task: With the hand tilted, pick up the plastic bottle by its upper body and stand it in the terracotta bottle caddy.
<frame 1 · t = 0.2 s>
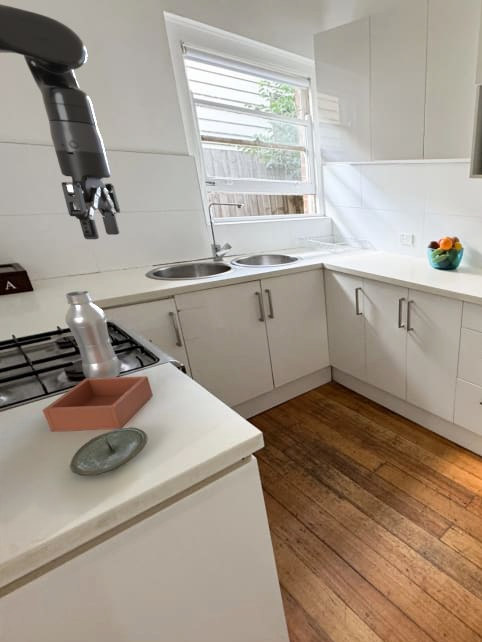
hand: (103, 236, 79), 31 cm above the worktop, tool pointing down, fingers open, 8 cm apart
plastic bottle: (106, 379, 86), on the worktop
caddy: (106, 412, 74), on the worktop
lid: (113, 458, 63), on the worktop
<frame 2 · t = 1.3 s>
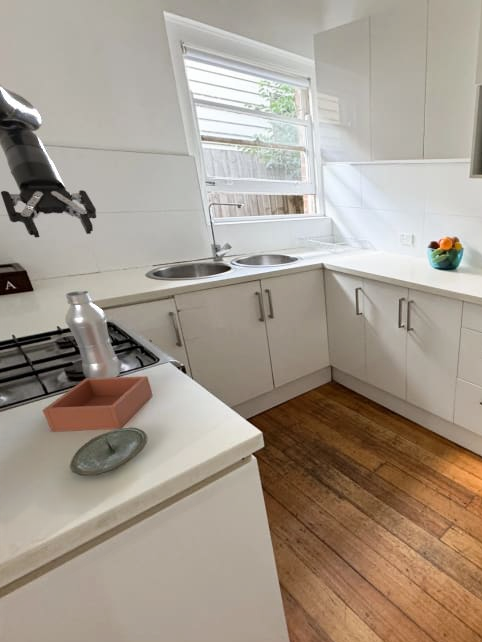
hand: (63, 233, 81), 31 cm above the worktop, tool tilted 45°, fingers open, 8 cm apart
nothing on the worktop moved.
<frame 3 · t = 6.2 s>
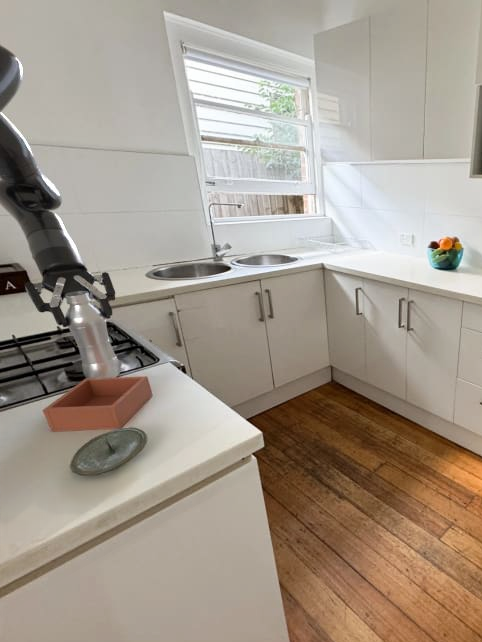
hand: (87, 320, 79), 14 cm above the worktop, tool tilted 45°, fingers closed on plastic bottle, 6 cm apart
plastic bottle: (106, 379, 86), on the worktop, touching gripper
everything else where it was.
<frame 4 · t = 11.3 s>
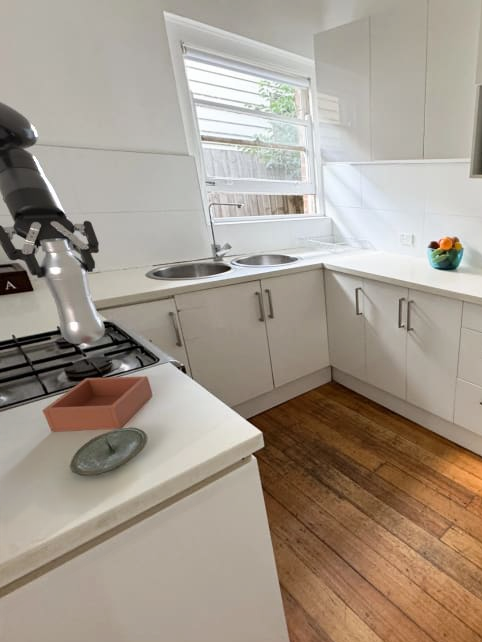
hand: (66, 272, 70), 26 cm above the worktop, tool tilted 45°, fingers closed on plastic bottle, 6 cm apart
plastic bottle: (87, 341, 77), point 11 cm above the worktop, touching gripper
everything else where it was.
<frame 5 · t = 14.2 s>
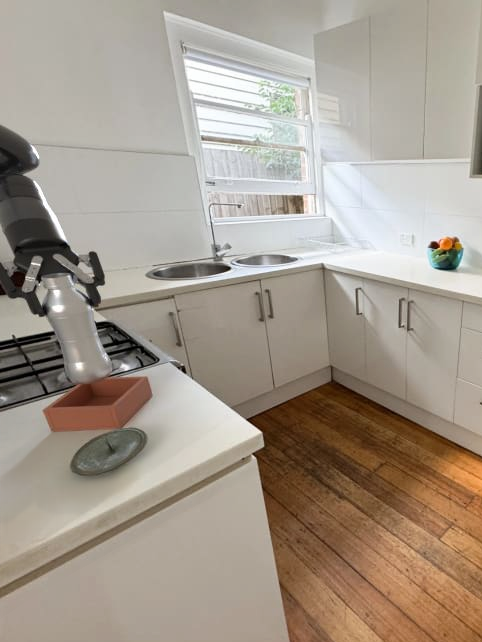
hand: (70, 309, 65), 22 cm above the worktop, tool tilted 45°, fingers closed on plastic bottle, 6 cm apart
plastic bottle: (94, 380, 71), point 7 cm above the worktop, touching gripper
everything else where it was.
when the fingers open (15 cm above the worktop, at t = 16.7 s): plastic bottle stays where it is, resting on caddy.
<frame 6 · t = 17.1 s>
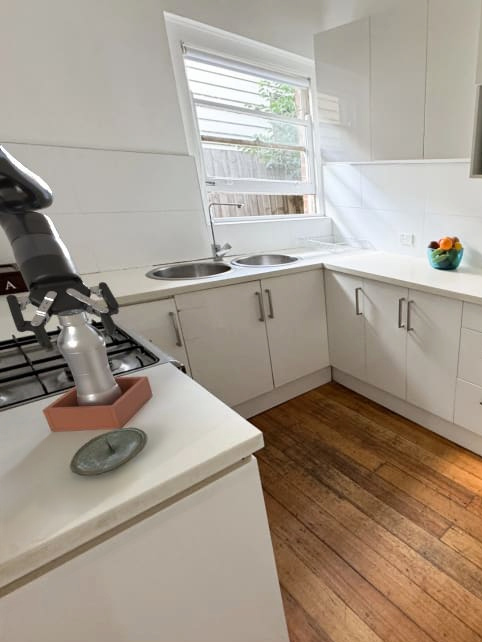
hand: (81, 340, 67), 16 cm above the worktop, tool tilted 45°, fingers open, 8 cm apart
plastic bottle: (105, 410, 74), resting on caddy
everything else where it was.
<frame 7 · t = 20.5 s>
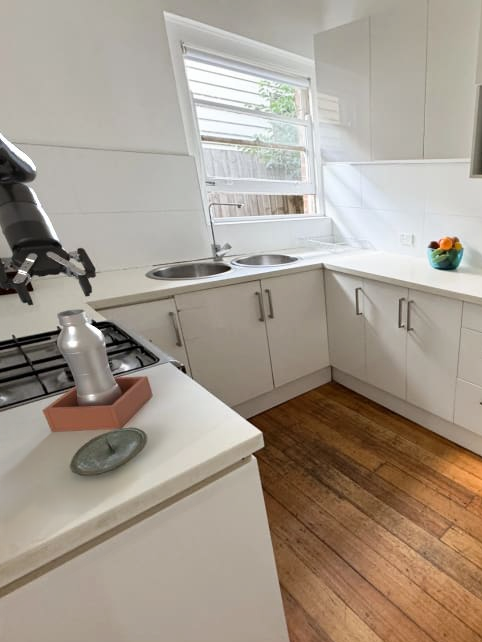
hand: (60, 298, 74), 20 cm above the worktop, tool tilted 45°, fingers open, 8 cm apart
nothing on the worktop moved.
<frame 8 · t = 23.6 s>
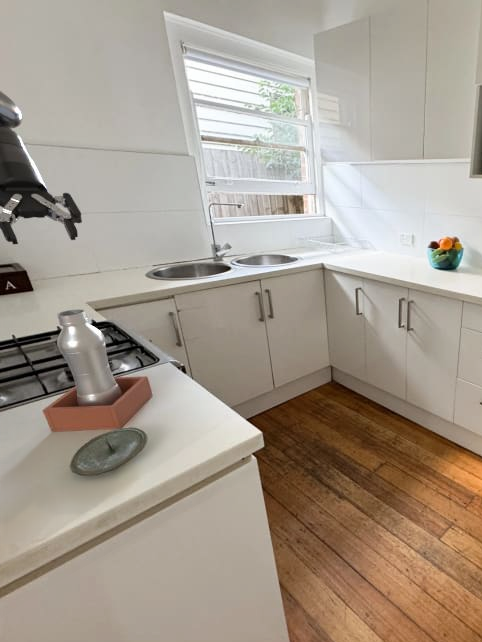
hand: (45, 239, 74), 31 cm above the worktop, tool tilted 45°, fingers open, 8 cm apart
nothing on the worktop moved.
at the end: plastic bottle inside the target area in the caddy (0.1 cm from its centre), point 0.4 cm above the caddy's base; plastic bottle tilted 0°; lid moved 0.2 cm from its start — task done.
